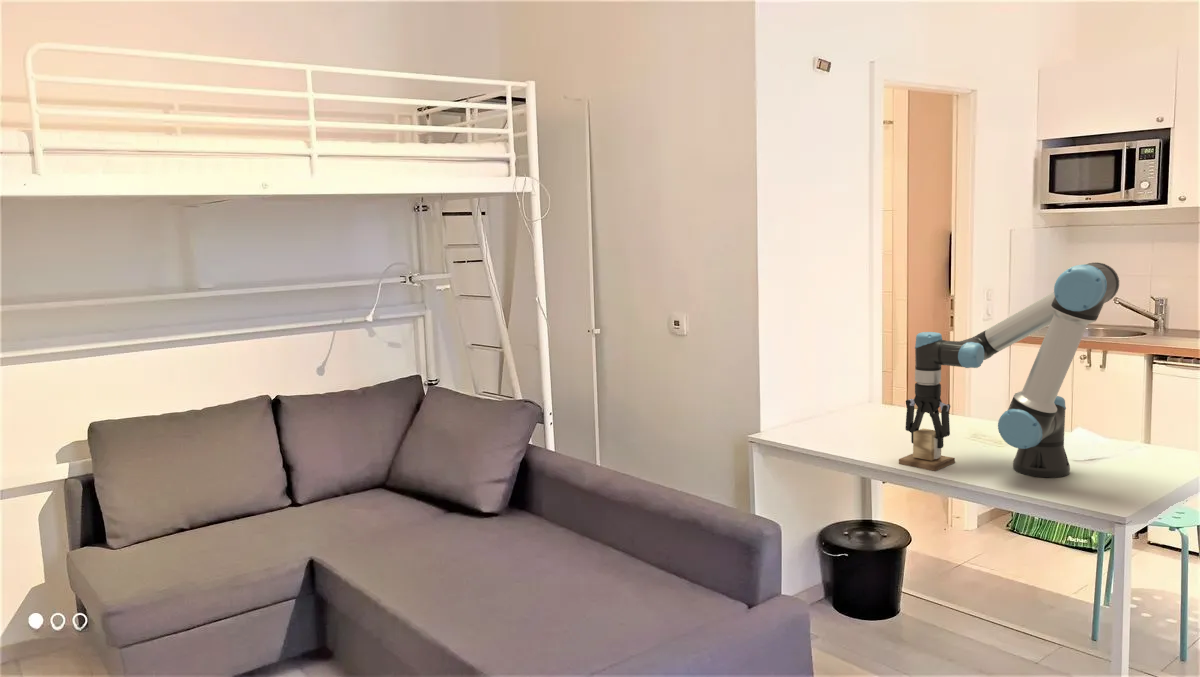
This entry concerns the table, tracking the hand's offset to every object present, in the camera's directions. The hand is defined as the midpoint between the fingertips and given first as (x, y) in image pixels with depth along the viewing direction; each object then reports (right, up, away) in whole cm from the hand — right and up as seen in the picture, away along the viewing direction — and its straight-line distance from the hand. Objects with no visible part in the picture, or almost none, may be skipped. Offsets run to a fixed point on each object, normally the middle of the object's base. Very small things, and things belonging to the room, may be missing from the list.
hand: (927, 455), depth 273 cm
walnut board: (0, -2, 0) cm, 2 cm away
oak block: (0, 0, 0) cm, 0 cm away
